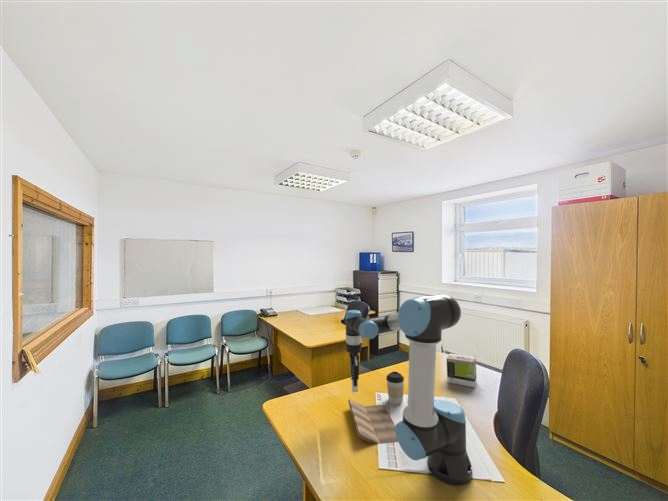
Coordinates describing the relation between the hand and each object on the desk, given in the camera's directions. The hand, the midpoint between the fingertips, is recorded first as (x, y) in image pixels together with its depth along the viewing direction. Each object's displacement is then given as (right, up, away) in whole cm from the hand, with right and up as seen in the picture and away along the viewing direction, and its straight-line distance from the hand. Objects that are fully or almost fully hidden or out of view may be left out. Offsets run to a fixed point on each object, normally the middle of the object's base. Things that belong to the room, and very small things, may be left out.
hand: (354, 391), depth 137 cm
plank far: (+2, -10, 0) cm, 10 cm away
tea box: (+66, -11, +33) cm, 75 cm away
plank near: (+3, -10, -14) cm, 18 cm away
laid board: (+12, -12, -6) cm, 18 cm away
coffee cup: (+22, -12, +12) cm, 28 cm away
